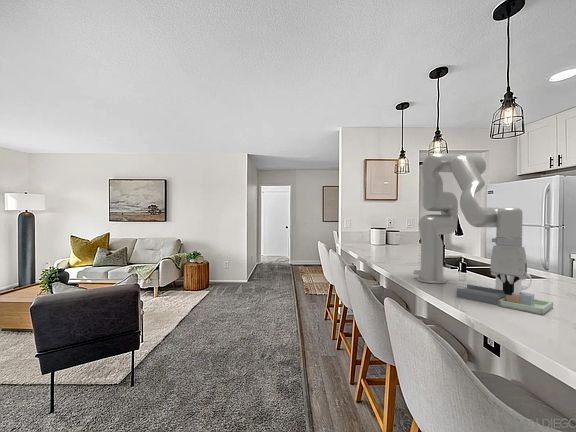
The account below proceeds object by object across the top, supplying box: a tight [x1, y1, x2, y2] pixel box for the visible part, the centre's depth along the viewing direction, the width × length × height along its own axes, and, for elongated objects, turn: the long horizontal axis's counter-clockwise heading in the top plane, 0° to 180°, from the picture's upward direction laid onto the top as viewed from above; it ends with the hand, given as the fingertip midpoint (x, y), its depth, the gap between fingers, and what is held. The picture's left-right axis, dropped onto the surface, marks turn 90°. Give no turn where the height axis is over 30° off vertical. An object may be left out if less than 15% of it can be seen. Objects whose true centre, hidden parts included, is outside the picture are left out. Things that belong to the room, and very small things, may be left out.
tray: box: [497, 297, 554, 316], centre depth 108 cm, size 12×12×2 cm
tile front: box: [519, 292, 535, 306], centre depth 107 cm, size 4×4×3 cm
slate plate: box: [456, 283, 507, 306], centre depth 118 cm, size 14×10×4 cm
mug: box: [495, 272, 532, 295], centre depth 128 cm, size 9×12×11 cm
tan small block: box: [506, 294, 520, 304], centre depth 110 cm, size 4×4×3 cm
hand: (508, 293), depth 111 cm, fingers closed
